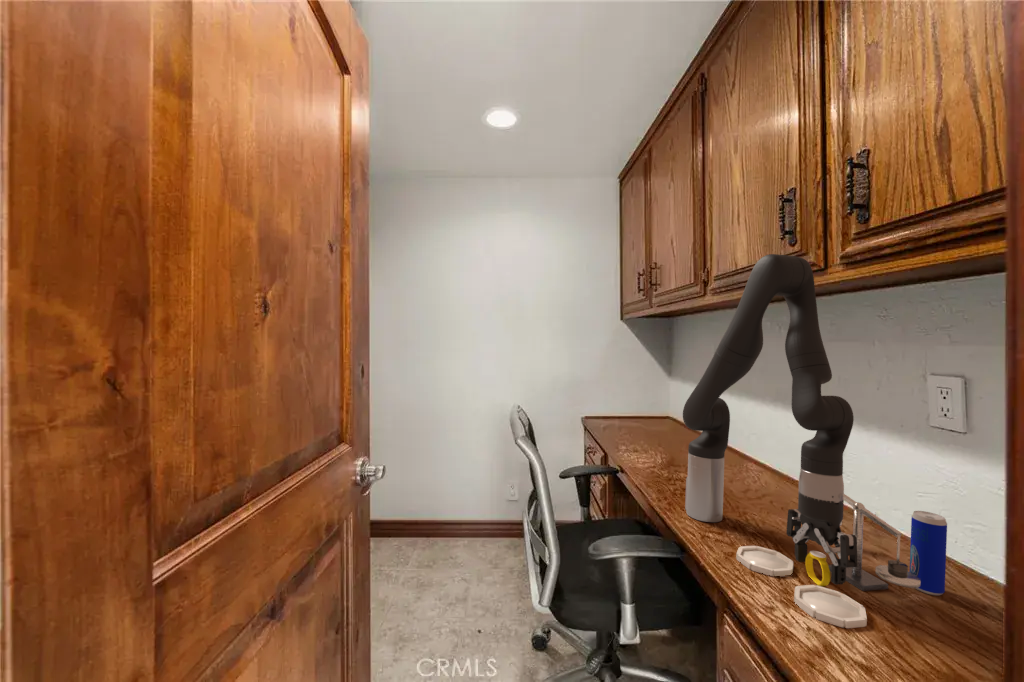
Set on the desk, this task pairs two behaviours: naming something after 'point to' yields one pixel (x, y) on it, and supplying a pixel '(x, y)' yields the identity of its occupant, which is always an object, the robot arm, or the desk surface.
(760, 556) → the dish upper pan side
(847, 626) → the dish lower pan side
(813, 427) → the robot arm
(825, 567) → the watch
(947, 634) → the desk surface
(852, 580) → the balance
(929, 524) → the beverage can
